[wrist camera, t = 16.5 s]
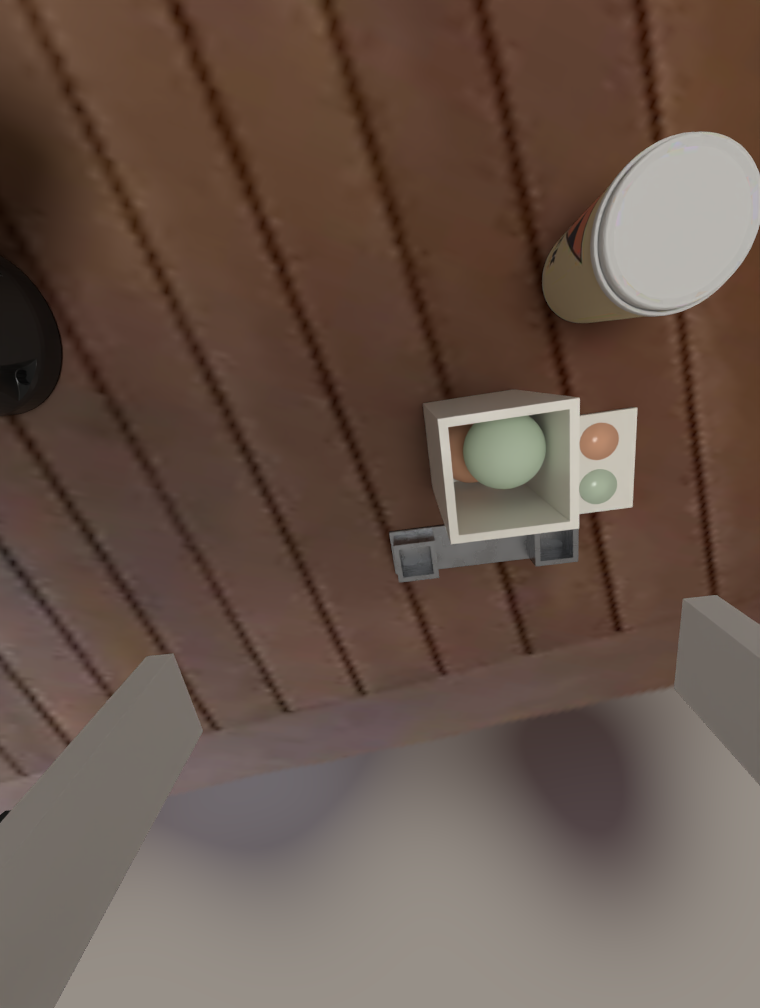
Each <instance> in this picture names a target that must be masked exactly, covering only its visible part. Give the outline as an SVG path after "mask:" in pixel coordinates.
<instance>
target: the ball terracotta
mask: <svg viewBox="0 0 760 1008" xmlns="http://www.w3.org/2000/svg"><path fill="white" fill-rule="evenodd" d="M473 424H474V423H473ZM473 424H467V425H460V426H453V427H448V431H449V441H450V451H451V461H452V472H453V479H455V480H458V481H461V482H465V483H475V482H479V481H477V480H476V479H475V478H474V477H473V476H472V475H471V474H470V472H469V471H468V469H467V467H466V464H465V461H464V457H463V445H464V441H465V438H466V435H467V433H468V431H469V429H470V428H471V427H472V425H473Z"/></svg>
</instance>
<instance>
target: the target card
mask: <svg viewBox="0 0 760 1008" xmlns="http://www.w3.org/2000/svg"><path fill="white" fill-rule="evenodd" d="M636 426H637V408H636V407H631V408H624V409H618V410H611V411H604V412H597V413H591V414H584V415H580V450H579V514H583V513H591V512H598V511H606V510H614V509H622V508H630V507H632V506H633V486H634V466H635V446H636Z"/></svg>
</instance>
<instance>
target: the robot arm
mask: <svg viewBox="0 0 760 1008" xmlns="http://www.w3.org/2000/svg"><path fill="white" fill-rule="evenodd" d="M60 367H61V344H60V338H59V333H58V330H57V326H56V323H55V320H54V318H53V316H52V313H51V311H50V309H49V307H48V305H47V303H46V302H45V300H44V298H43V297H42V295H41V294H40V292H39V291H38V290H37V288H36V287H35V286H34V284H33V283H32V282H31V281H30V280H29V279H28V278H27V277H26V276H25V275H24V274H23V273H22V272H21V271H20V270H19V269H18V268H17V267H16V266H14V265H13V264H12V263H11V262H9V261H8V260H6V259H5V258H3V257H2V256H0V416H5V415H14V414H20V413H23V412H27V411H29V410H31V409H33V408H35V407H37V406H38V405H40V404H41V403H42V402H43V401H44V400H45V399H46V398H47V397H48V396H49V395H50V393H51V392H52V390H53V388H54V386H55V384H56V382H57V379H58V376H59V372H60ZM674 689H675V690H676V692H677V693H678V694H679V695H680V696H681V697H682V698H683V699H684V701H685V702H686V703H687V704H688V705H689V706H690V707H691V708H692V709H693V711H694V712H695V713H696V714H697V715H698V716H699V717H700V718H701V720H702V721H703V722H704V723H705V724H706V725H707V726H708V728H709V729H710V730H711V731H712V732H713V733H714V734H715V735H716V737H717V738H718V739H719V740H720V741H721V742H722V743H723V744H724V746H725V747H726V748H727V749H728V750H729V751H730V752H731V753H732V755H733V756H734V757H735V758H736V759H737V760H738V761H739V762H740V763H741V765H742V766H743V767H744V768H745V769H746V770H747V771H748V773H749V774H750V775H751V776H752V777H753V778H754V779H755V781H756V782H757V783H758V784H759V785H760V625H759V624H758V623H756V622H755V621H753V620H752V619H750V618H749V617H748V616H746V615H745V614H743V613H742V612H740V611H739V610H737V609H736V608H734V607H733V606H732V605H730V604H729V603H727V602H726V601H724V600H723V599H721V598H720V597H718V596H717V595H713V596H704V597H695V598H685V599H683V605H682V615H681V624H680V634H679V644H678V654H677V664H676V674H675V684H674ZM202 732H203V730H202V727H201V724H200V722H199V719H198V717H197V714H196V711H195V709H194V706H193V704H192V701H191V698H190V696H189V693H188V691H187V688H186V685H185V683H184V680H183V677H182V675H181V672H180V670H179V667H178V664H177V662H176V659H175V657H174V654H164V655H155V656H147V657H146V658H145V659H144V660H143V661H142V662H141V664H140V665H139V666H138V667H137V668H136V669H135V670H134V671H133V673H132V674H131V675H130V676H129V677H128V678H127V679H126V681H125V682H124V683H123V684H122V685H121V686H120V687H119V689H118V690H117V691H116V692H115V693H114V694H113V695H112V696H111V698H110V699H109V700H108V701H107V702H106V703H105V704H104V706H103V707H102V708H101V709H100V710H99V711H98V712H97V714H96V715H95V716H94V717H93V718H92V719H91V720H90V721H89V723H88V724H87V725H86V726H85V727H84V728H83V729H82V731H81V732H80V733H79V734H78V735H77V736H76V737H75V739H74V740H73V741H72V742H71V743H70V744H69V745H68V746H67V748H66V749H65V750H64V751H63V752H62V753H61V754H60V756H59V757H58V758H57V759H56V760H55V761H54V762H53V764H52V765H51V766H50V767H49V768H48V769H47V770H46V771H45V773H44V774H43V775H42V776H41V777H40V778H39V779H38V781H37V782H36V783H35V784H34V785H33V786H32V787H31V789H30V790H29V791H28V792H27V793H26V794H25V795H24V796H23V798H22V799H21V800H20V801H19V802H18V803H17V804H16V806H15V807H14V808H13V809H12V810H10V811H5V812H3V813H2V814H1V815H0V1008H54V1007H55V1005H56V1003H57V1001H58V999H59V998H60V996H61V994H62V992H63V990H64V988H65V987H66V985H67V983H68V981H69V979H70V977H71V975H72V973H73V972H74V970H75V968H76V966H77V964H78V962H79V960H80V959H81V957H82V955H83V953H84V951H85V949H86V947H87V946H88V944H89V942H90V940H91V938H92V936H93V934H94V932H95V931H96V929H97V927H98V925H99V923H100V921H101V920H102V918H103V916H104V914H105V912H106V910H107V908H108V906H109V905H110V903H111V901H112V899H113V897H114V895H115V894H116V892H117V890H118V888H119V886H120V884H121V882H122V881H123V879H124V877H125V875H126V873H127V871H128V869H129V867H130V866H131V864H132V862H133V860H134V858H135V856H136V855H137V853H138V851H139V849H140V847H141V845H142V843H143V842H144V840H145V838H146V836H147V834H148V832H149V830H150V829H151V827H152V825H153V823H154V821H155V819H156V817H157V815H158V814H159V812H160V810H161V808H162V806H163V804H164V802H165V801H166V799H167V797H168V795H169V793H170V791H171V790H172V788H173V786H174V784H175V782H176V780H177V778H178V777H179V775H180V773H181V771H182V769H183V767H184V765H185V764H186V762H187V760H188V758H189V756H190V754H191V752H192V750H193V749H194V747H195V745H196V743H197V741H198V739H199V737H200V736H201V734H202Z"/></svg>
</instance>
